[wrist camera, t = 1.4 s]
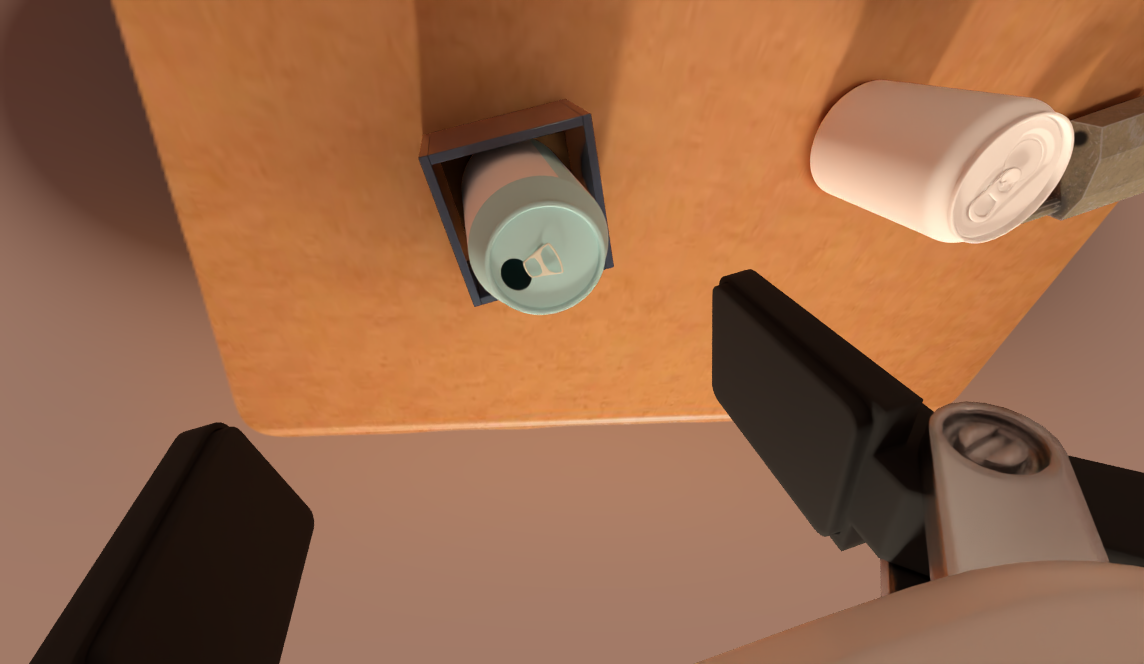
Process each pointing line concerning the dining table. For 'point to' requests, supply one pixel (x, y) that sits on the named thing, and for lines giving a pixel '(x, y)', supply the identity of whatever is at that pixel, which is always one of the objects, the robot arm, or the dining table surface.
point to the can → (532, 228)
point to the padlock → (1100, 162)
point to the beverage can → (942, 157)
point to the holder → (497, 135)
